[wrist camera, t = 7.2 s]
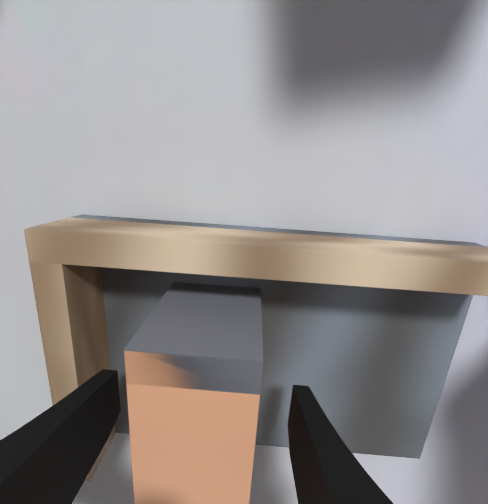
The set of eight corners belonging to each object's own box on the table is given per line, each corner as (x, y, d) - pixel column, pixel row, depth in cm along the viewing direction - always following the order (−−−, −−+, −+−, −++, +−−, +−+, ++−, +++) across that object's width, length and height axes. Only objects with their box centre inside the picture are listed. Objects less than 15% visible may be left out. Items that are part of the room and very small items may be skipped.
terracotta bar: (248, 425, 15) (244, 546, 10) (174, 419, 15) (136, 536, 10) (260, 288, 13) (263, 360, 8) (173, 282, 13) (124, 349, 8)
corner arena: (474, 242, 12) (548, 267, 9) (411, 444, 16) (450, 512, 13) (81, 214, 13) (24, 229, 10) (102, 418, 16) (64, 478, 13)
